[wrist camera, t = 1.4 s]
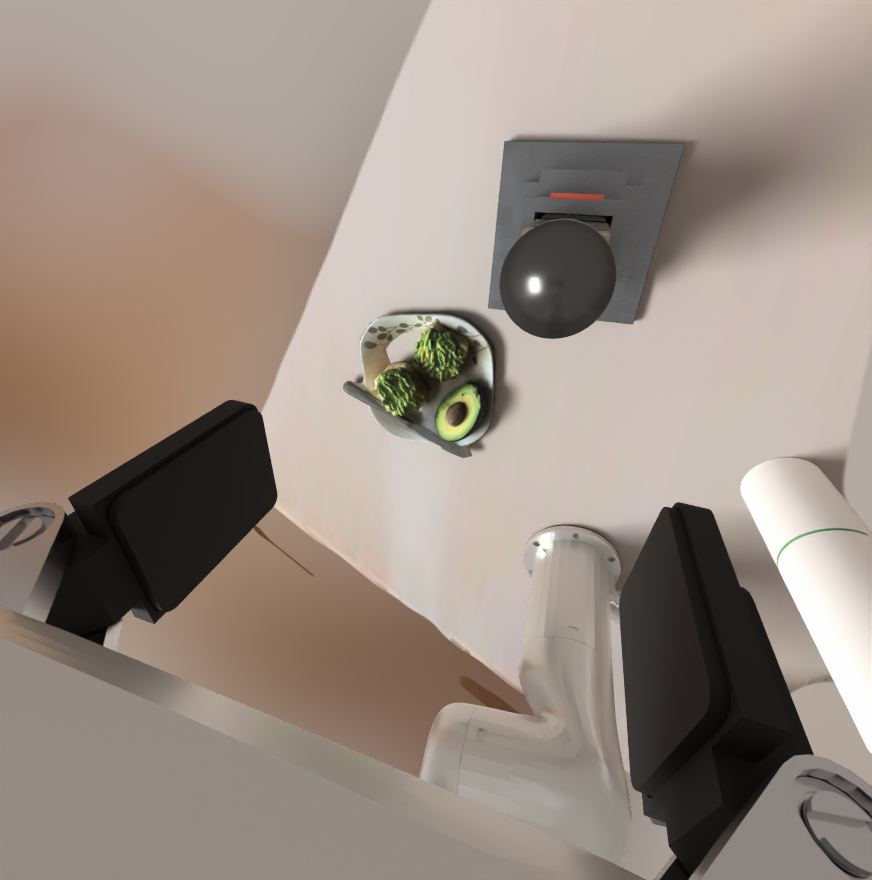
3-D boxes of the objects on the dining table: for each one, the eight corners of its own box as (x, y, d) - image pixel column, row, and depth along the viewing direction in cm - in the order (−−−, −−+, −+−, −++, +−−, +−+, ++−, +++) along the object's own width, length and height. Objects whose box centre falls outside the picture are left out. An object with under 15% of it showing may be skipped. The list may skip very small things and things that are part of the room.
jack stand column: (609, 206, 35) (630, 223, 17) (595, 271, 38) (600, 345, 20) (547, 203, 36) (506, 216, 18) (537, 266, 39) (493, 331, 21)
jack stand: (682, 144, 33) (726, 123, 22) (631, 321, 40) (647, 369, 30) (506, 142, 36) (471, 122, 26) (489, 305, 43) (457, 343, 33)
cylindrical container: (779, 523, 46) (932, 792, 25) (724, 489, 46) (832, 731, 25) (843, 482, 41) (1088, 764, 21) (783, 445, 41) (969, 691, 21)
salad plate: (357, 435, 58) (341, 452, 55) (338, 305, 49) (317, 315, 46) (493, 454, 53) (486, 474, 49) (499, 312, 44) (491, 324, 40)
